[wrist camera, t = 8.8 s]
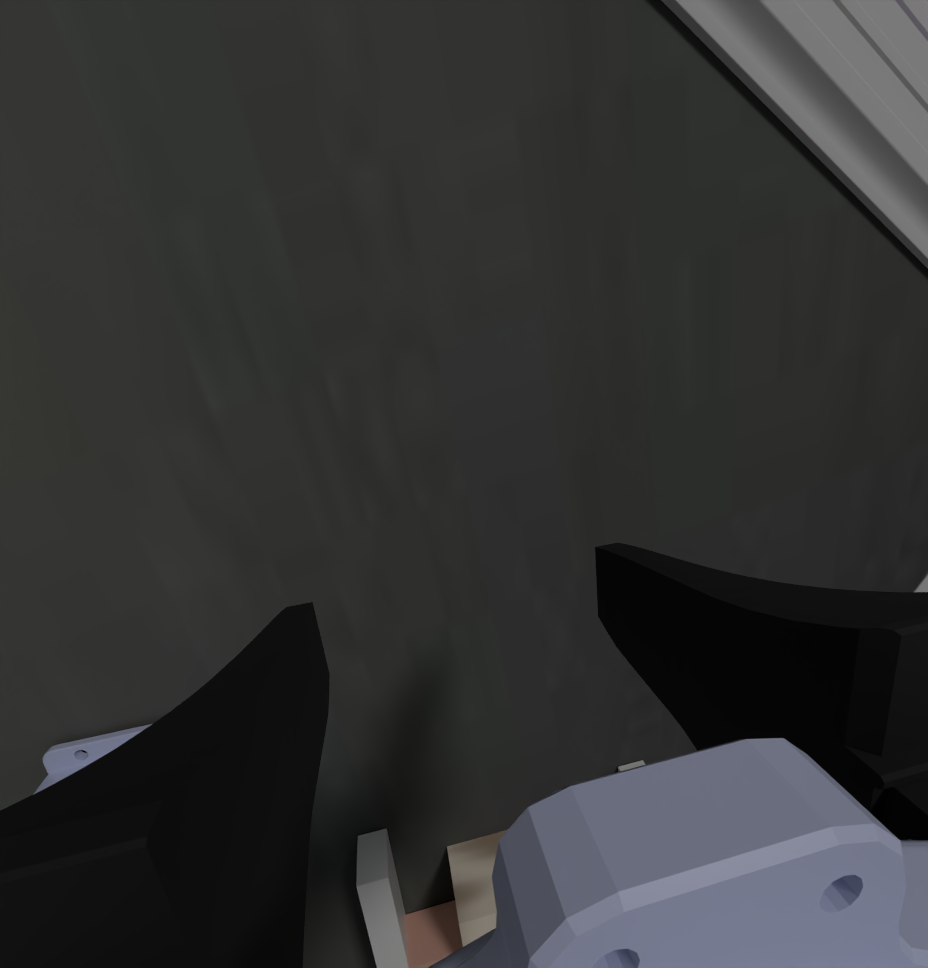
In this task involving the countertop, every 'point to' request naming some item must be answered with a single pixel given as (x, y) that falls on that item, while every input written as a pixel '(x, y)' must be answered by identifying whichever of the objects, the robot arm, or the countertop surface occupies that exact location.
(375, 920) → the block with end panels
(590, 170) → the countertop surface
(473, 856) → the slat block
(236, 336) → the countertop surface
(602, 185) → the countertop surface
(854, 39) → the baseboard molding
